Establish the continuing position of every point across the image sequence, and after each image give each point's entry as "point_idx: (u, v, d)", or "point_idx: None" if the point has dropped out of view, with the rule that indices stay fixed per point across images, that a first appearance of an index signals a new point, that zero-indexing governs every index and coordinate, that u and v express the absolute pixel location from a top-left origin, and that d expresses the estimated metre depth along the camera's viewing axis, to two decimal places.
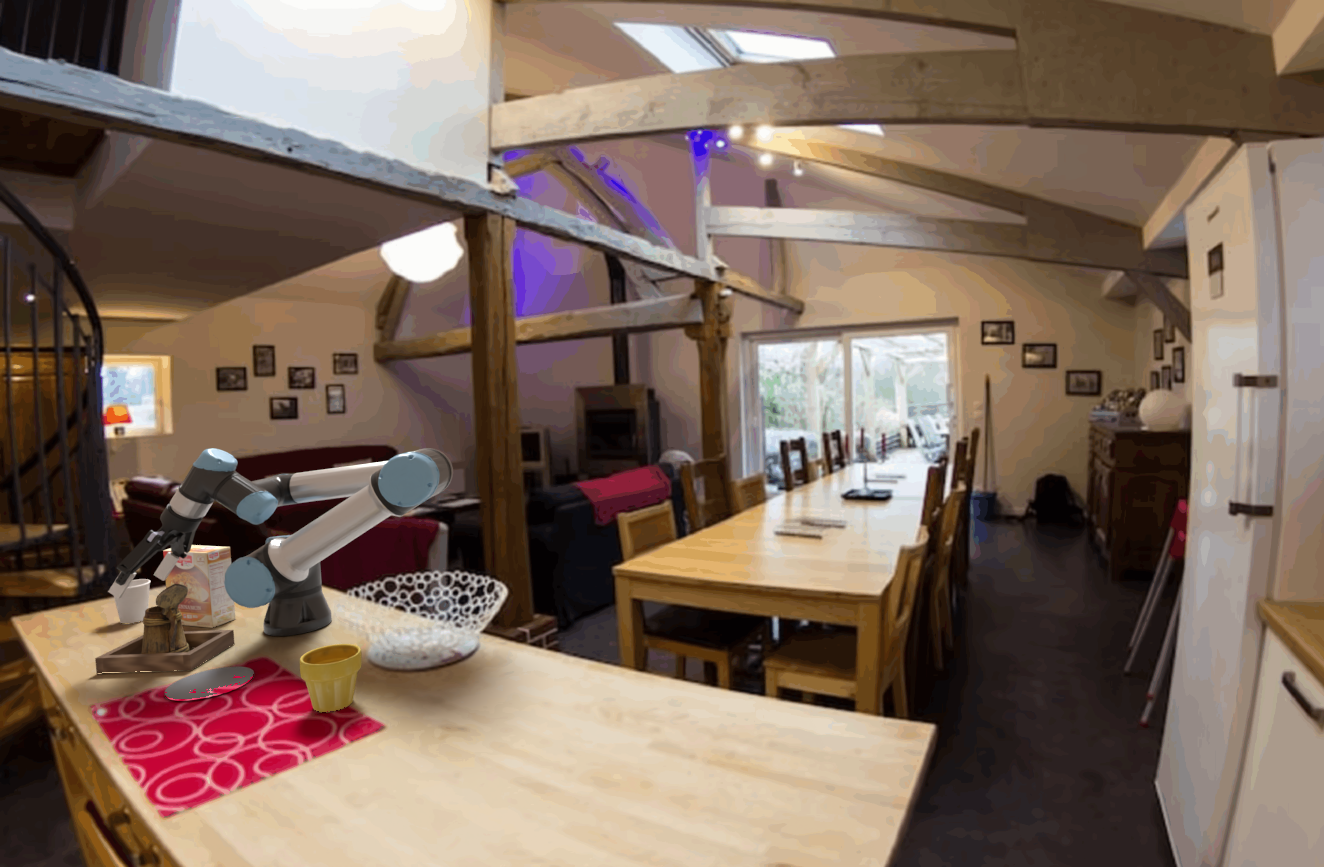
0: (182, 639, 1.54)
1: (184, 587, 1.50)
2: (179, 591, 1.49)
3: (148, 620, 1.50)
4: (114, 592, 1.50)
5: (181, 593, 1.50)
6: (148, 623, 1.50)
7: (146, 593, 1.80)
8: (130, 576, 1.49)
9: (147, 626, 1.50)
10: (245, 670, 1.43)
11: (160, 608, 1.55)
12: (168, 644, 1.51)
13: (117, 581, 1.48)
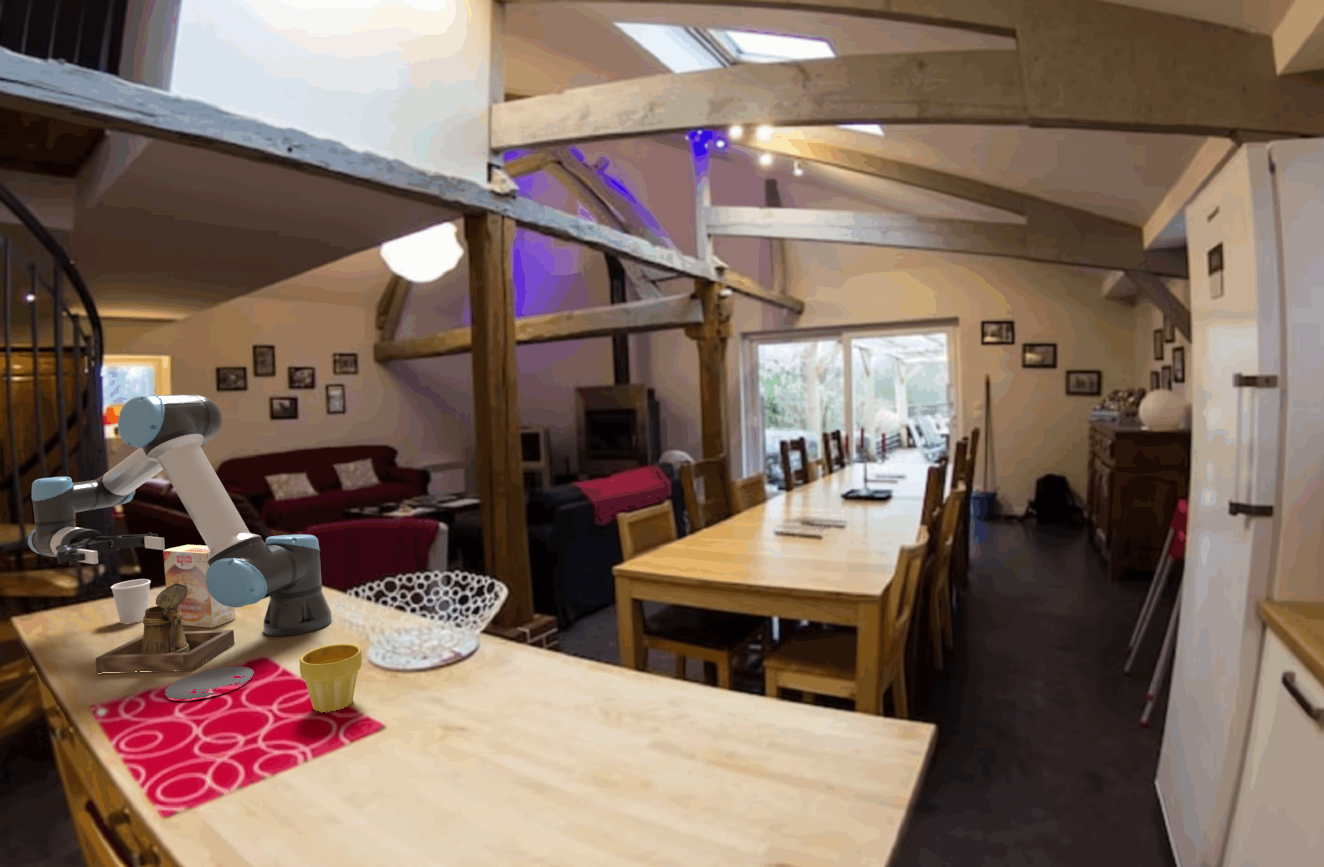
0: (182, 639, 1.54)
1: (184, 587, 1.50)
2: (179, 591, 1.49)
3: (148, 620, 1.50)
4: (92, 558, 1.49)
5: (181, 593, 1.50)
6: (148, 623, 1.50)
7: (146, 593, 1.80)
8: (79, 551, 1.51)
9: (147, 626, 1.50)
10: (245, 670, 1.43)
11: (160, 608, 1.55)
12: (168, 644, 1.51)
13: (77, 558, 1.49)
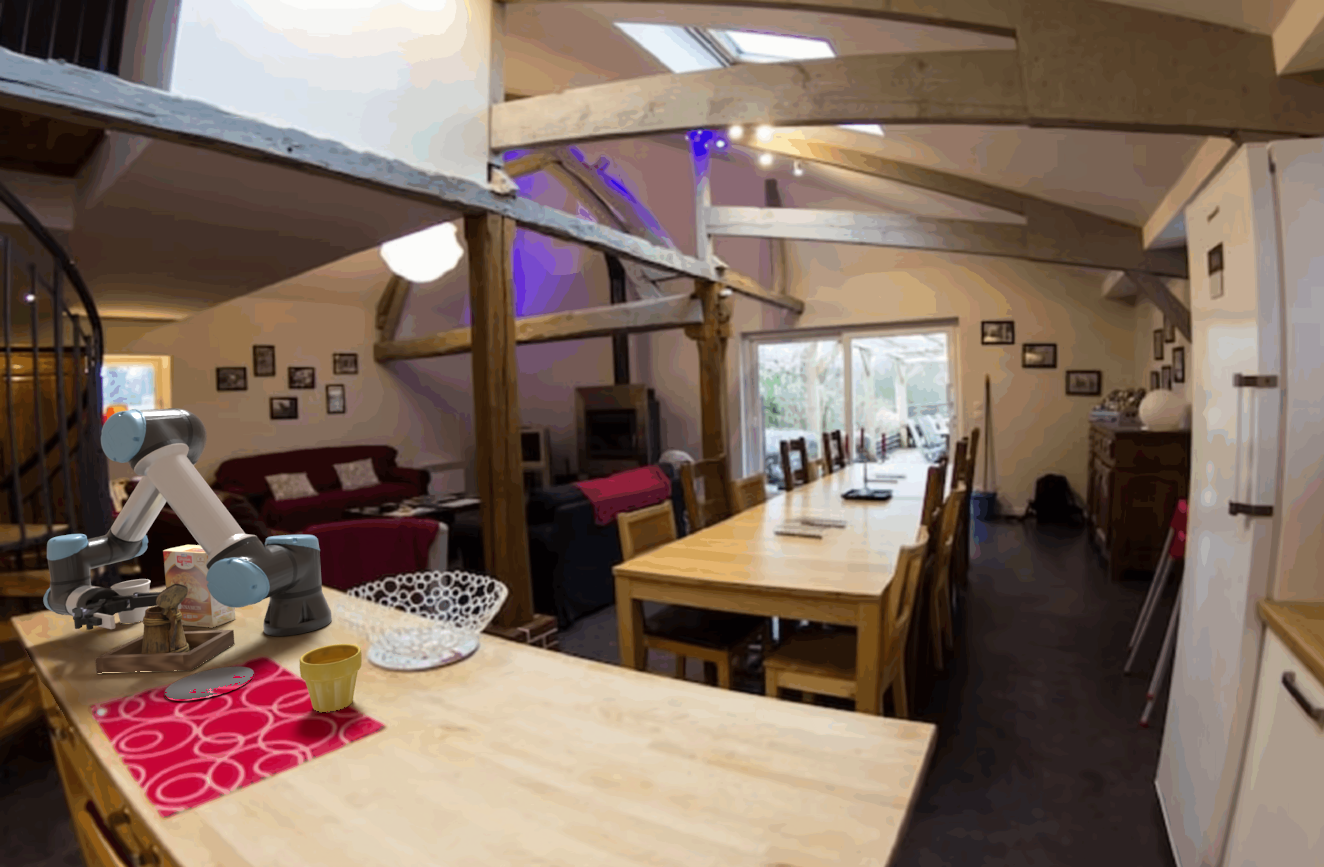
0: (182, 639, 1.54)
1: (184, 587, 1.50)
2: (179, 591, 1.49)
3: (148, 620, 1.50)
4: (109, 623, 1.48)
5: (181, 593, 1.50)
6: (148, 623, 1.50)
7: None
8: (95, 615, 1.50)
9: (147, 626, 1.50)
10: (245, 670, 1.43)
11: (160, 608, 1.55)
12: (168, 644, 1.51)
13: (94, 623, 1.48)
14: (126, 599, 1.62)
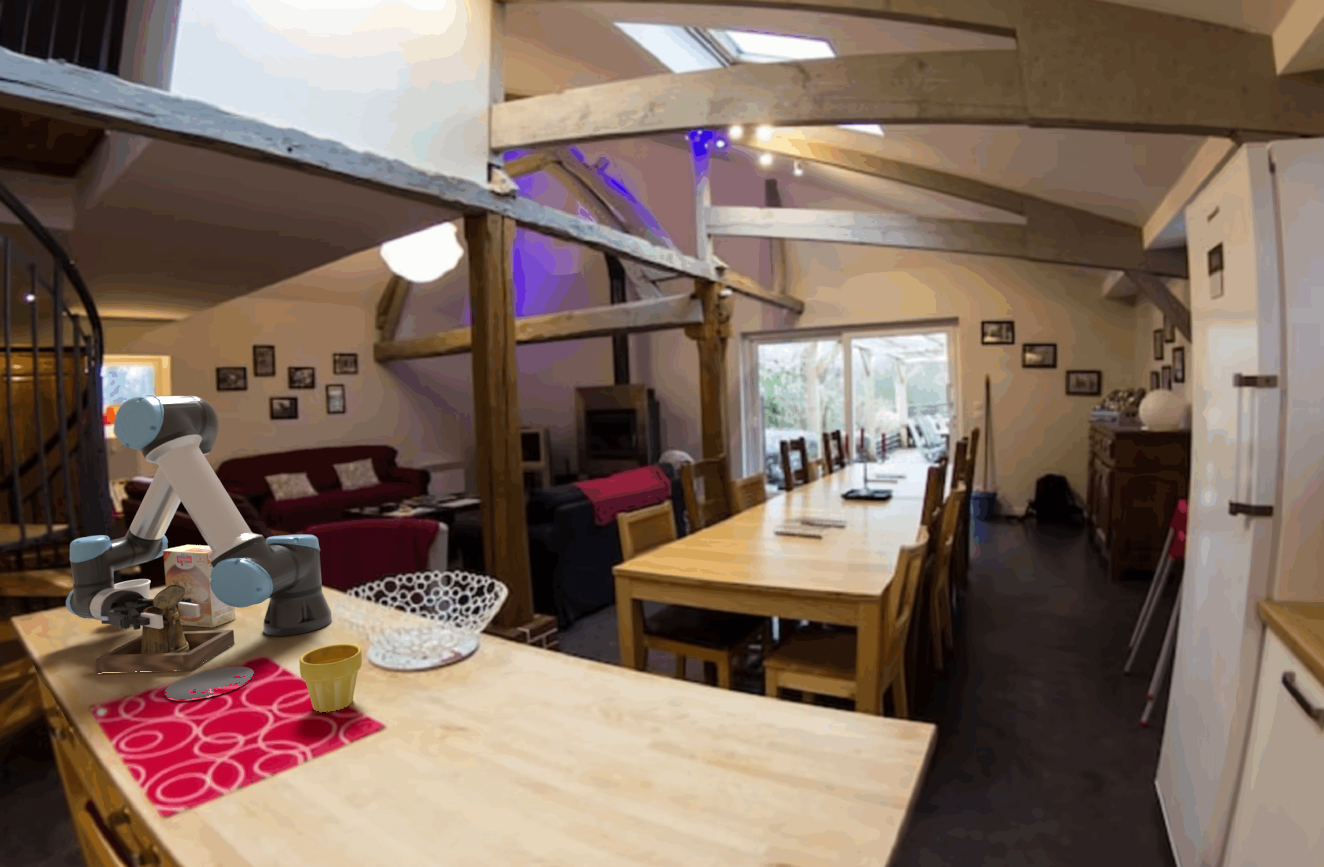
0: (181, 638, 1.54)
1: (181, 588, 1.49)
2: (176, 592, 1.48)
3: None
4: (157, 622, 1.46)
5: (178, 594, 1.49)
6: None
7: (146, 593, 1.80)
8: (143, 615, 1.48)
9: (145, 626, 1.49)
10: (245, 670, 1.43)
11: (158, 607, 1.54)
12: (167, 644, 1.51)
13: (142, 623, 1.46)
14: None
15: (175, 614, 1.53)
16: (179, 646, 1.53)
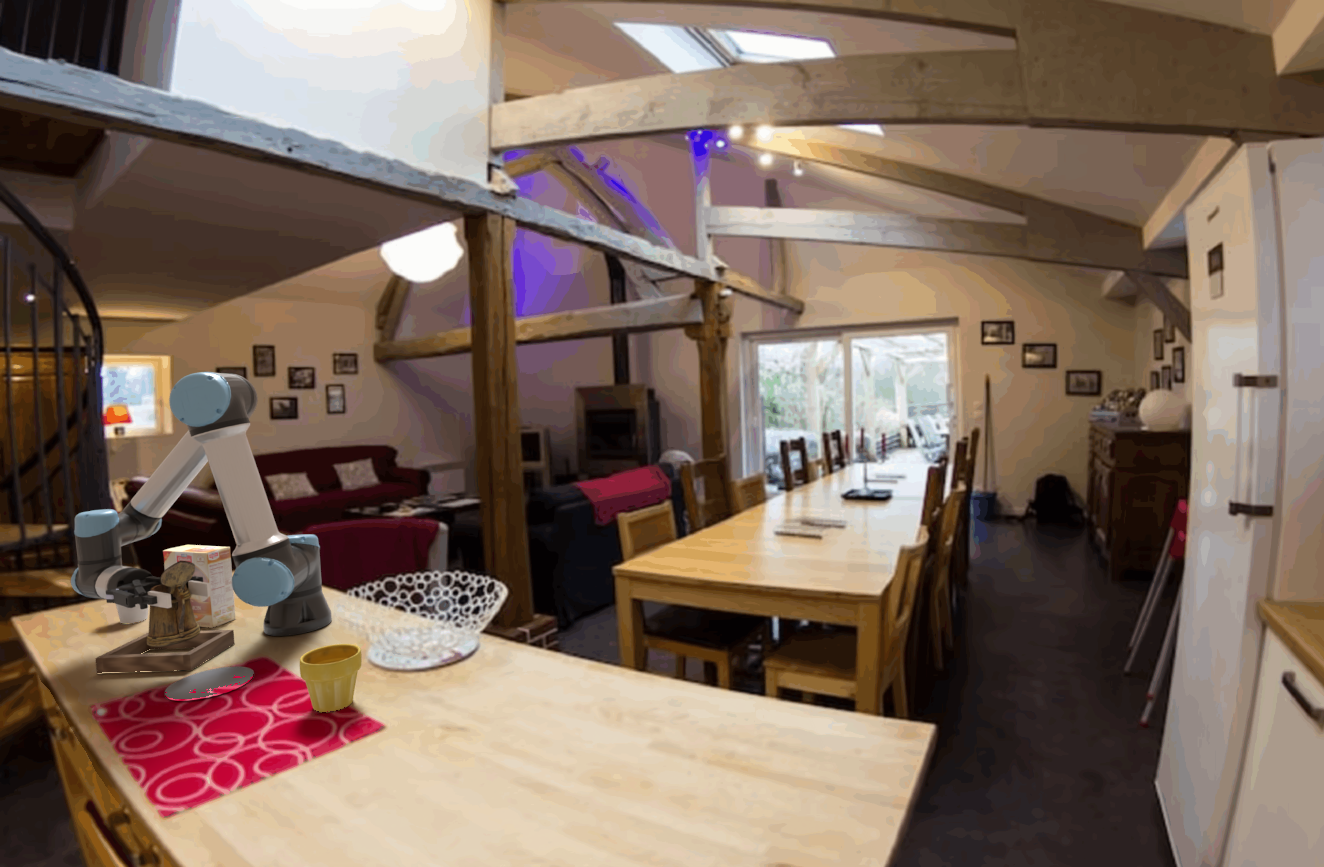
0: (191, 619, 1.42)
1: (191, 564, 1.37)
2: (185, 568, 1.36)
3: None
4: (165, 601, 1.34)
5: (188, 570, 1.37)
6: None
7: None
8: (150, 594, 1.36)
9: (153, 606, 1.38)
10: (245, 670, 1.43)
11: (167, 586, 1.43)
12: (176, 625, 1.39)
13: (149, 602, 1.35)
14: None
15: (185, 593, 1.41)
16: (189, 628, 1.41)
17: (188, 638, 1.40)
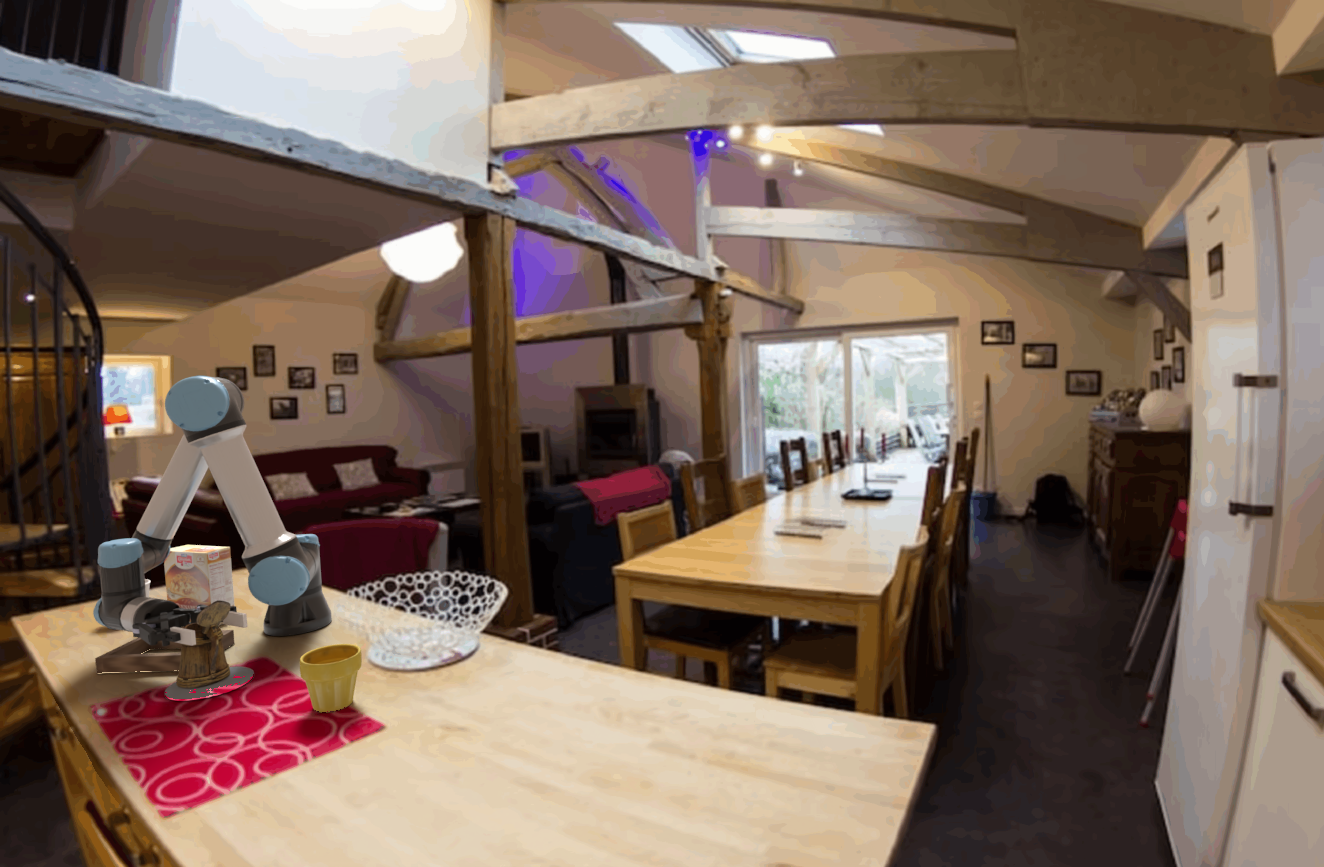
0: (223, 660, 1.39)
1: (227, 604, 1.34)
2: (221, 608, 1.34)
3: None
4: (189, 638, 1.30)
5: (223, 610, 1.34)
6: None
7: (146, 593, 1.80)
8: (172, 630, 1.32)
9: (185, 646, 1.35)
10: (245, 670, 1.43)
11: (199, 625, 1.40)
12: (208, 666, 1.36)
13: (172, 639, 1.30)
14: None
15: (218, 633, 1.38)
16: (220, 669, 1.38)
17: (219, 679, 1.37)
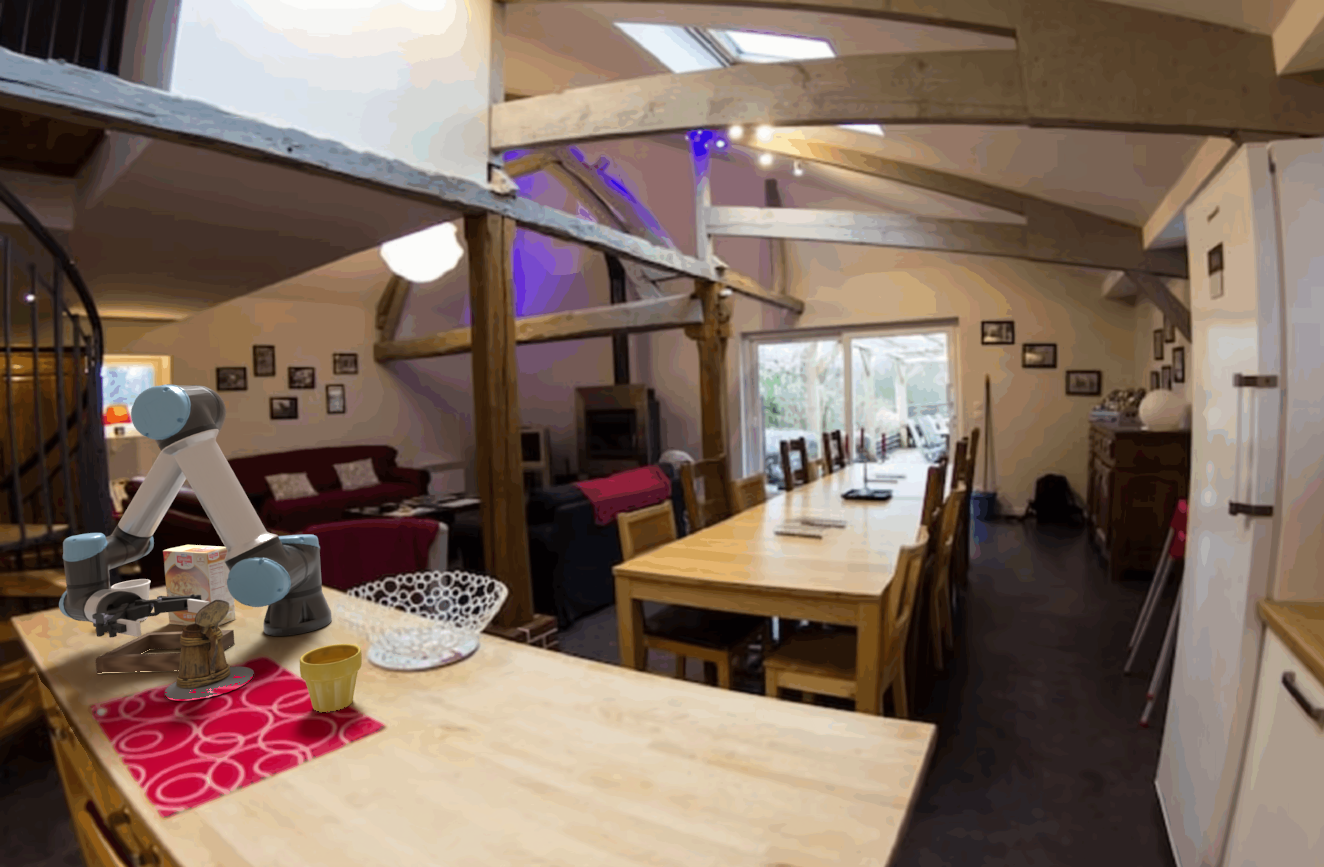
0: (223, 660, 1.39)
1: (226, 603, 1.34)
2: (220, 608, 1.34)
3: (186, 639, 1.35)
4: (134, 630, 1.35)
5: (222, 610, 1.35)
6: (186, 643, 1.35)
7: (146, 593, 1.80)
8: (119, 622, 1.37)
9: (185, 646, 1.35)
10: (245, 670, 1.43)
11: (198, 625, 1.40)
12: (207, 666, 1.36)
13: (118, 630, 1.35)
14: (150, 603, 1.49)
15: (217, 633, 1.38)
16: (220, 669, 1.38)
17: (219, 679, 1.37)
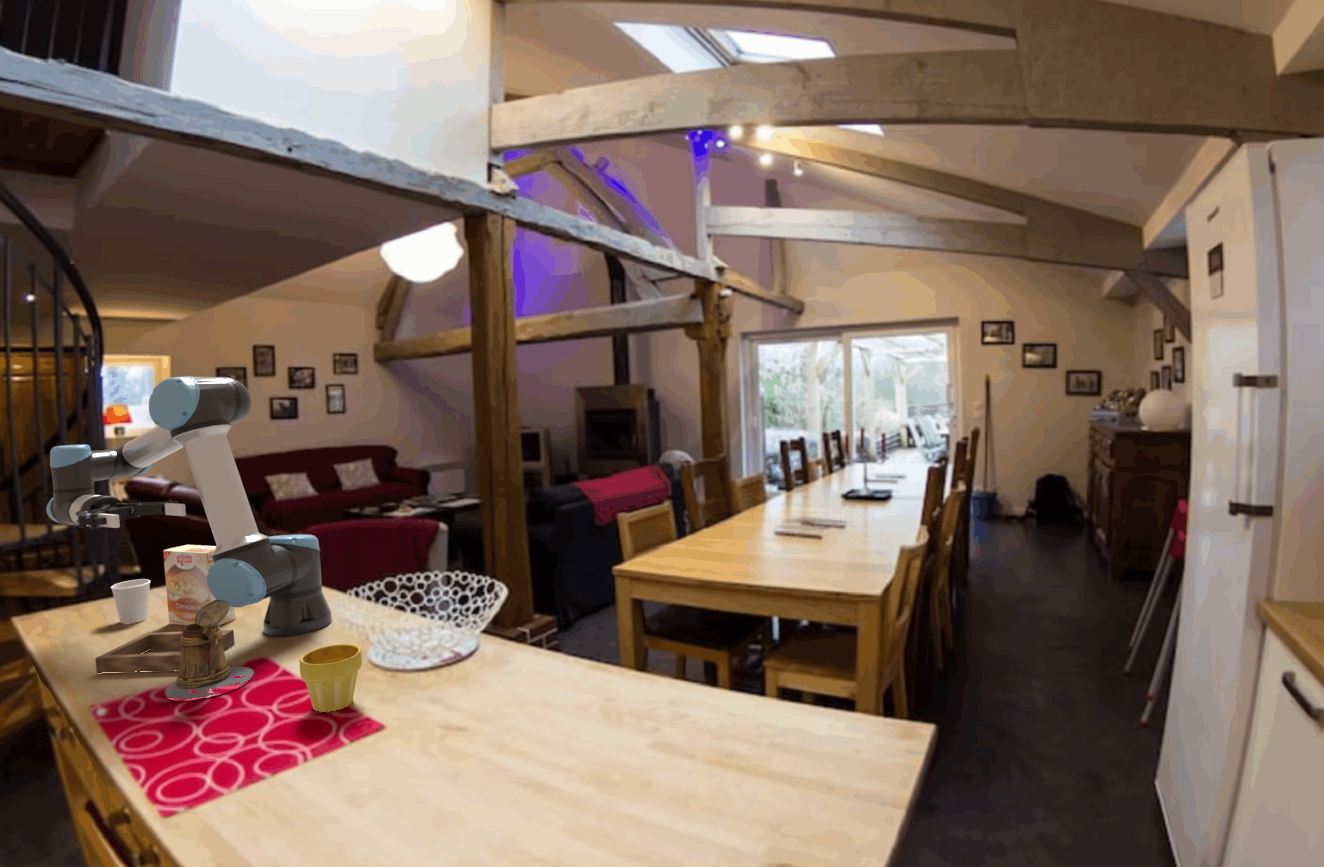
0: (223, 660, 1.39)
1: (226, 603, 1.35)
2: (220, 608, 1.34)
3: (186, 639, 1.35)
4: (113, 521, 1.46)
5: (222, 610, 1.35)
6: (186, 643, 1.35)
7: (146, 593, 1.80)
8: (100, 516, 1.48)
9: (185, 646, 1.35)
10: (245, 670, 1.43)
11: (198, 625, 1.40)
12: (207, 666, 1.36)
13: (99, 522, 1.47)
14: (130, 507, 1.61)
15: (217, 633, 1.38)
16: (220, 669, 1.38)
17: (219, 679, 1.37)
